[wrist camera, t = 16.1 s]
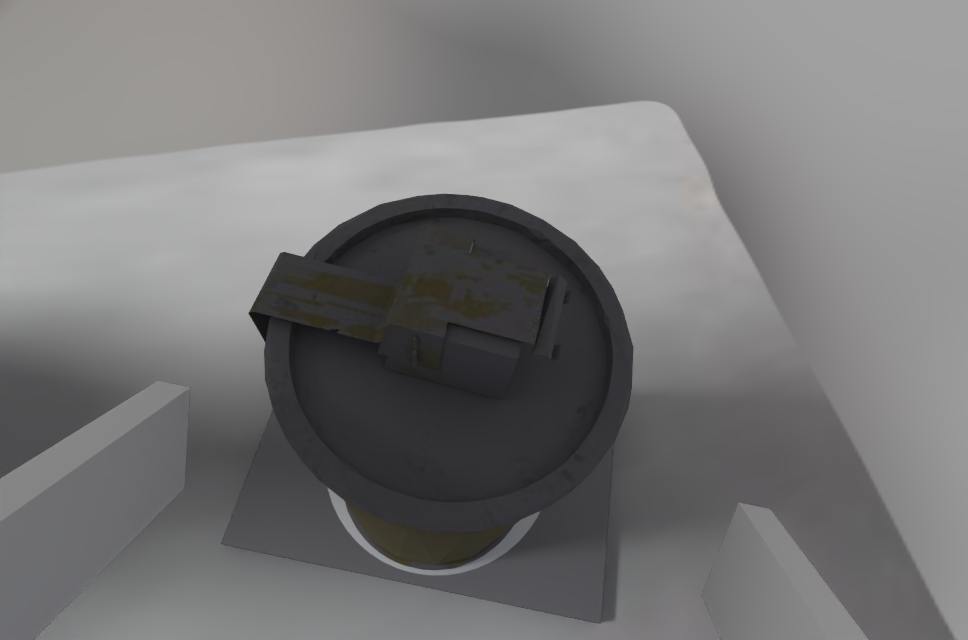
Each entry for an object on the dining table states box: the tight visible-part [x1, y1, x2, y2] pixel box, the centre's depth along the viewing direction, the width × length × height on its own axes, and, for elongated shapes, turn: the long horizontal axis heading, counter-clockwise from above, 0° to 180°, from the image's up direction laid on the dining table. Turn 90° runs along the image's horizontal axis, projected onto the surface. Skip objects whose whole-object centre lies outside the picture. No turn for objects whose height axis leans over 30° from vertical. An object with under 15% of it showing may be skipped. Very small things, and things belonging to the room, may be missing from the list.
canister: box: [249, 194, 633, 570], centre depth 22 cm, size 11×10×20 cm
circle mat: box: [221, 411, 613, 623], centre depth 32 cm, size 20×14×1 cm
